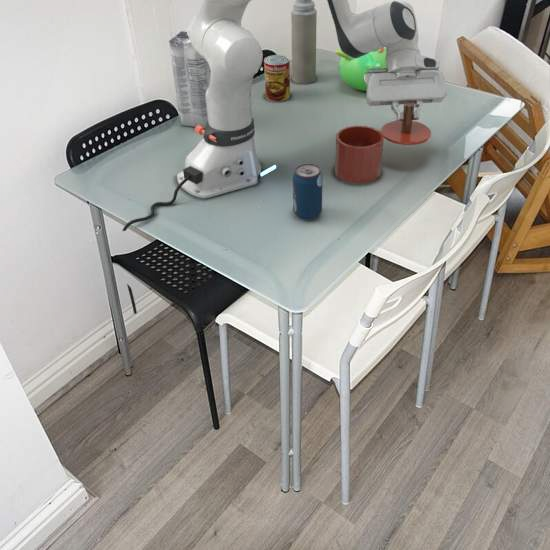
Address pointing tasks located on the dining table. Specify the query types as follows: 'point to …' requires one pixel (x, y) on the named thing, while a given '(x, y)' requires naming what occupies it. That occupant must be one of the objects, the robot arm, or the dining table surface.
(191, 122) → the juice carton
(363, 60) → the toy bird
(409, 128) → the lid
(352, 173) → the pot
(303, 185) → the soda can
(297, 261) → the dining table surface
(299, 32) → the thermos bottle
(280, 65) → the canned food
